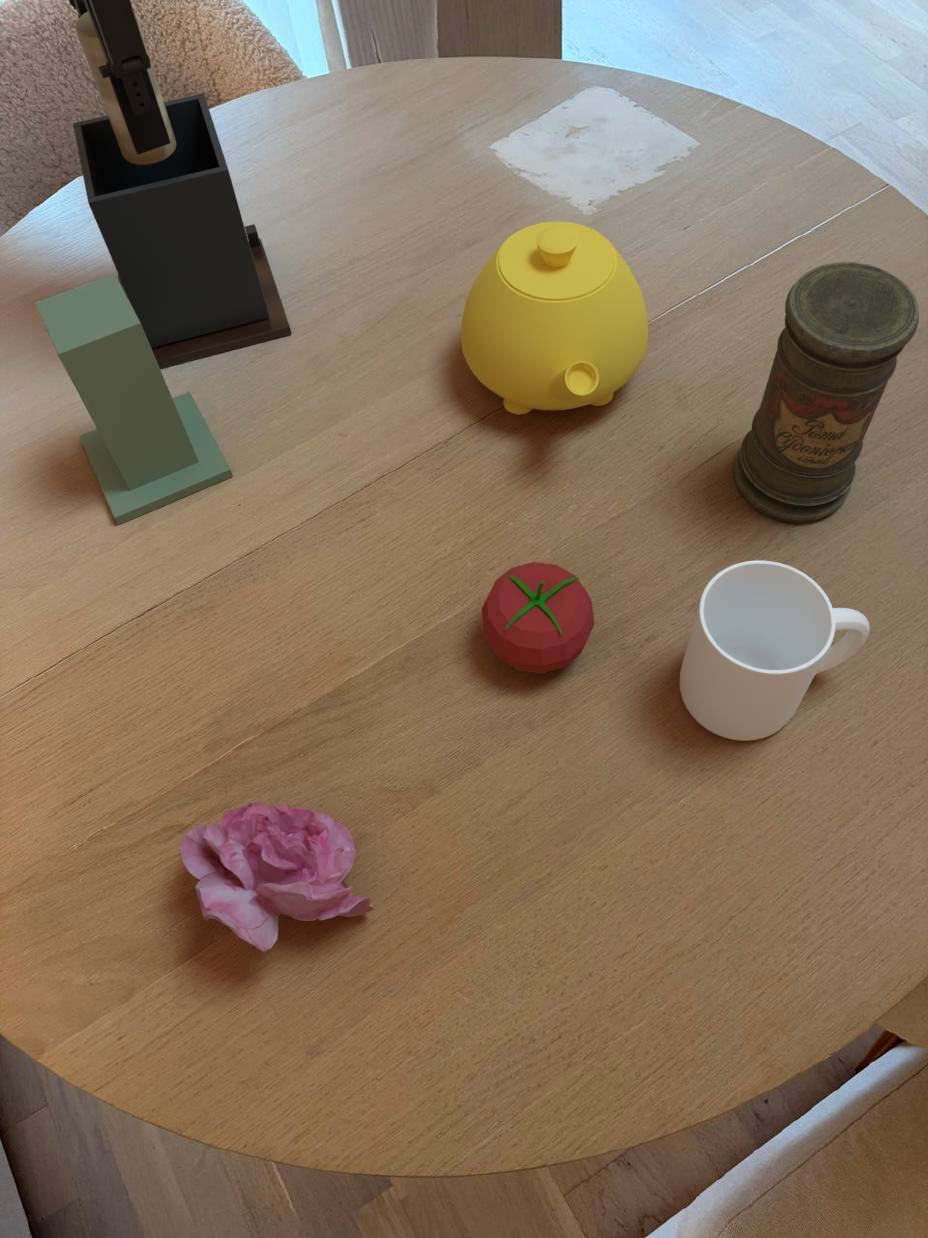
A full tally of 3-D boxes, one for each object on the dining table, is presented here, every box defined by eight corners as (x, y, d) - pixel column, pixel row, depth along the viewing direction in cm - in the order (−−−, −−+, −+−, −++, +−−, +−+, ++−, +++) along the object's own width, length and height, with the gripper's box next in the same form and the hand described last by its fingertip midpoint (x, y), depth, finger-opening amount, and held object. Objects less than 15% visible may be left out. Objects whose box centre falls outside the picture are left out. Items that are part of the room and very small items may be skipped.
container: (727, 437, 83) (773, 257, 68) (838, 436, 83) (910, 254, 67) (739, 525, 79) (792, 353, 63) (857, 524, 78) (939, 351, 63)
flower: (284, 821, 71) (345, 744, 65) (344, 950, 67) (414, 881, 61) (131, 861, 64) (184, 778, 58) (188, 1010, 60) (251, 937, 54)
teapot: (669, 467, 82) (694, 339, 70) (479, 488, 82) (471, 364, 70) (624, 298, 92) (639, 163, 81) (455, 317, 92) (445, 183, 80)
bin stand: (291, 334, 92) (286, 312, 90) (140, 374, 91) (130, 352, 88) (262, 245, 99) (256, 222, 97) (120, 281, 97) (111, 258, 95)
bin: (269, 317, 92) (228, 168, 79) (149, 348, 90) (88, 202, 78) (245, 242, 97) (203, 92, 84) (132, 270, 96) (72, 122, 83)
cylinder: (115, 142, 82) (67, 15, 73) (166, 125, 83) (125, -3, 74) (131, 171, 80) (85, 44, 71) (184, 153, 81) (144, 25, 72)
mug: (825, 624, 74) (866, 541, 65) (866, 725, 69) (916, 652, 61) (664, 649, 73) (683, 570, 65) (695, 753, 69) (720, 683, 60)
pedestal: (83, 443, 87) (0, 295, 73) (192, 399, 89) (132, 247, 75) (118, 525, 82) (37, 383, 68) (233, 476, 84) (176, 329, 70)
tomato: (611, 660, 73) (620, 604, 67) (517, 708, 72) (517, 655, 65) (554, 580, 77) (557, 519, 70) (464, 623, 75) (459, 565, 69)
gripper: (121, -202, 56) (225, 172, 76) (38, -299, 65) (152, 61, 85) (-11, -166, 55) (131, 206, 75) (-78, -271, 63) (66, 89, 83)
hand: (142, 128), depth 80 cm, fingers closed on cylinder, 4 cm apart
